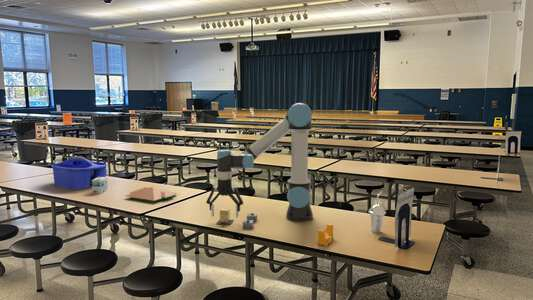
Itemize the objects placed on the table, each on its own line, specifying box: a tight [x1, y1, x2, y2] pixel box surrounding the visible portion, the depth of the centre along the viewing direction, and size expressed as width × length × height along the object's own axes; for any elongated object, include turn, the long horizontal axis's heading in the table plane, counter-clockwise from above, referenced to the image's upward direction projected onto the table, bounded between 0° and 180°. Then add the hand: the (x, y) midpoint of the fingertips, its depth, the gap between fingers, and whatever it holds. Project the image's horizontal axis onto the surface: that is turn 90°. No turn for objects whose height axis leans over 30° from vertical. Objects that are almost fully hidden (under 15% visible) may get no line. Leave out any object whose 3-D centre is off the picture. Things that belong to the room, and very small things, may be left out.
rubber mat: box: [215, 218, 234, 226], centre depth 205 cm, size 8×8×1 cm
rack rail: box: [242, 212, 258, 229], centre depth 202 cm, size 5×16×4 cm, turn 172°
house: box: [125, 186, 178, 202], centre depth 255 cm, size 23×33×8 cm
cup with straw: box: [368, 190, 387, 234], centre depth 190 cm, size 8×9×20 cm
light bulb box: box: [91, 176, 109, 195], centre depth 270 cm, size 11×7×11 cm, turn 179°
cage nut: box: [219, 207, 231, 223], centre depth 204 cm, size 4×6×7 cm
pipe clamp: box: [317, 223, 334, 247], centre depth 178 cm, size 12×4×6 cm, turn 147°
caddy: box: [50, 155, 108, 190], centre depth 294 cm, size 32×45×23 cm
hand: (224, 216), depth 204 cm, fingers open, 13 cm apart
